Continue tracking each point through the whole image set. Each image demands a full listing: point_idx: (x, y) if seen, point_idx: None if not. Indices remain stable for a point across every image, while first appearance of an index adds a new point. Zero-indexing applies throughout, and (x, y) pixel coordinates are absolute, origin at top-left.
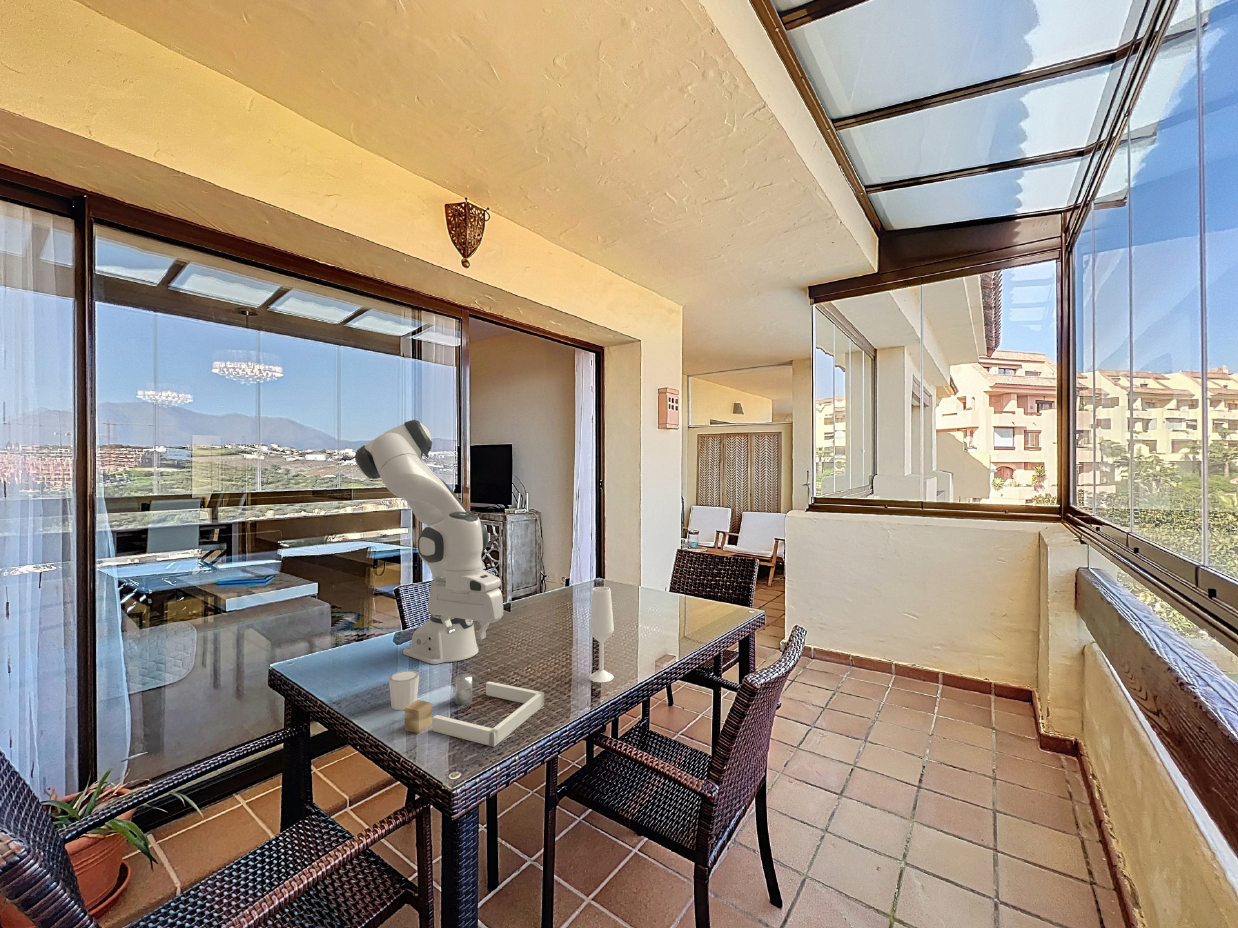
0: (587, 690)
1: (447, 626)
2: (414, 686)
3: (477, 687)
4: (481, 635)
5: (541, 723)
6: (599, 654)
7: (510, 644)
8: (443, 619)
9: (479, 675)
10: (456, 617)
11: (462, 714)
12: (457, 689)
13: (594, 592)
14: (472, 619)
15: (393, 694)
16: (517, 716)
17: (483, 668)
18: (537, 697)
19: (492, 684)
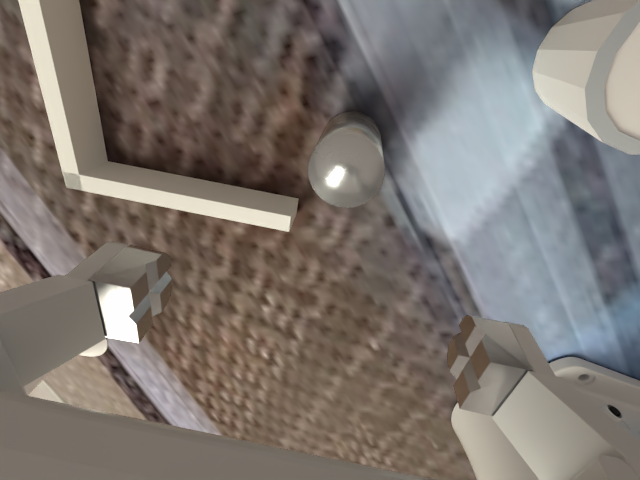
0: (56, 271)
1: (528, 381)
2: (576, 50)
3: (353, 242)
4: (90, 260)
5: (15, 50)
6: (30, 383)
7: (383, 458)
8: (636, 470)
9: (385, 311)
10: (378, 473)
11: (302, 39)
12: (359, 124)
13: None
14: (7, 402)
15: None
16: None
17: (393, 348)
18: (57, 147)
19: (262, 211)
